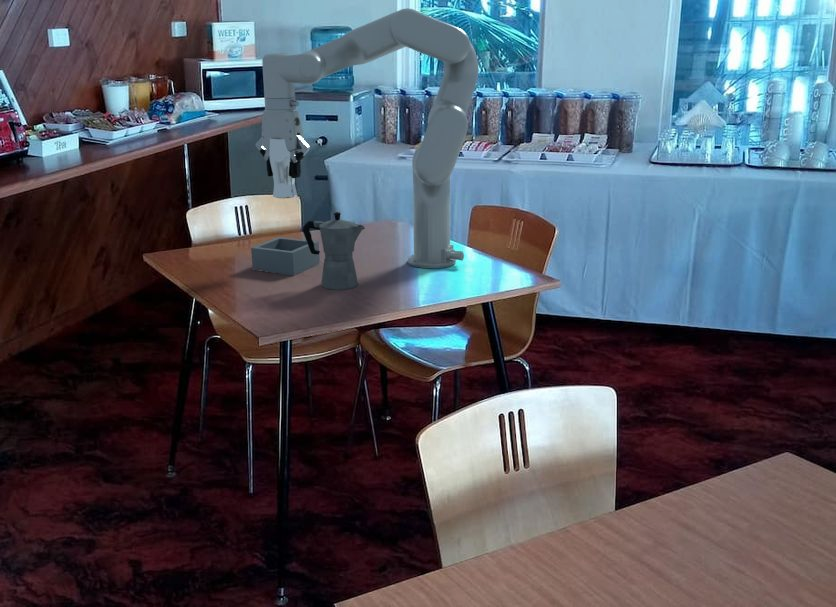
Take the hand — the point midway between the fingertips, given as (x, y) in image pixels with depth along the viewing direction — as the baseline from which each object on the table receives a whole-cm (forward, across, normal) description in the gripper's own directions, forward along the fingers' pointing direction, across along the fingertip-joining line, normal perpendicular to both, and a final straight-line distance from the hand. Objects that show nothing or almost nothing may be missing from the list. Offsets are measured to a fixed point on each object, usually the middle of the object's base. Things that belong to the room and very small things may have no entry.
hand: (284, 175), depth 233 cm
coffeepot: (+24, -20, +10) cm, 33 cm away
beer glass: (+5, 0, 0) cm, 5 cm away
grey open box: (+24, 0, +2) cm, 24 cm away
